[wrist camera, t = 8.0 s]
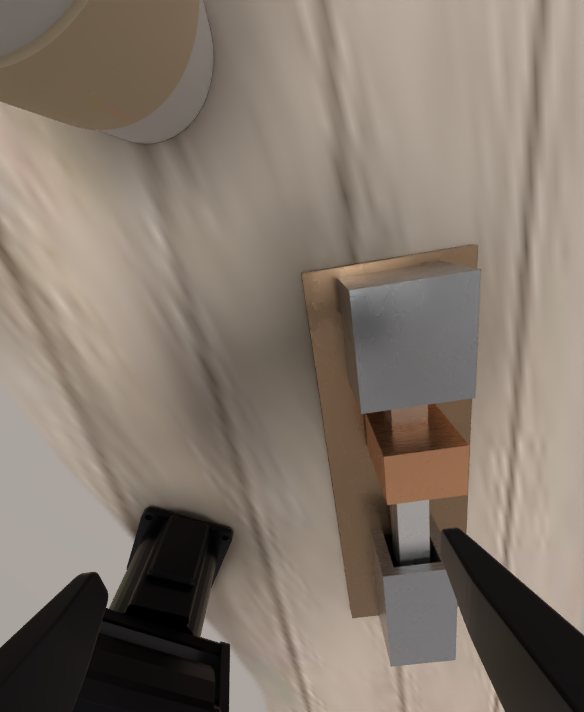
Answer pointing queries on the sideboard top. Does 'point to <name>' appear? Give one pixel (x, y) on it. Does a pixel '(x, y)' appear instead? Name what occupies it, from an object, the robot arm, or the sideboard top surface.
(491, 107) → the sideboard top surface
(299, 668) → the sideboard top surface
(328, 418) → the tube base
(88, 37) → the coffee cup
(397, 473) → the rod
